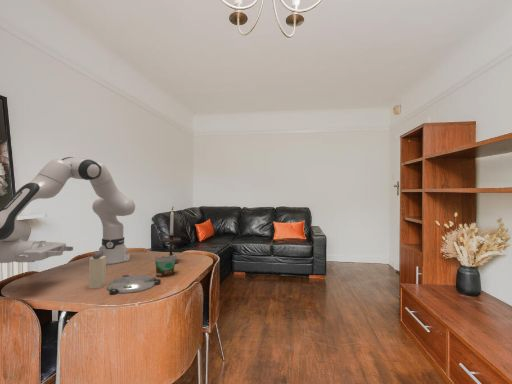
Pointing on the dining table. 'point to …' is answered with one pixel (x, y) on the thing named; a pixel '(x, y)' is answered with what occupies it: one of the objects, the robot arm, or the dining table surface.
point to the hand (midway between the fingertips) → (67, 250)
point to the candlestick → (171, 235)
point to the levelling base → (132, 284)
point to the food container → (165, 265)
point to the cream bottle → (97, 270)
